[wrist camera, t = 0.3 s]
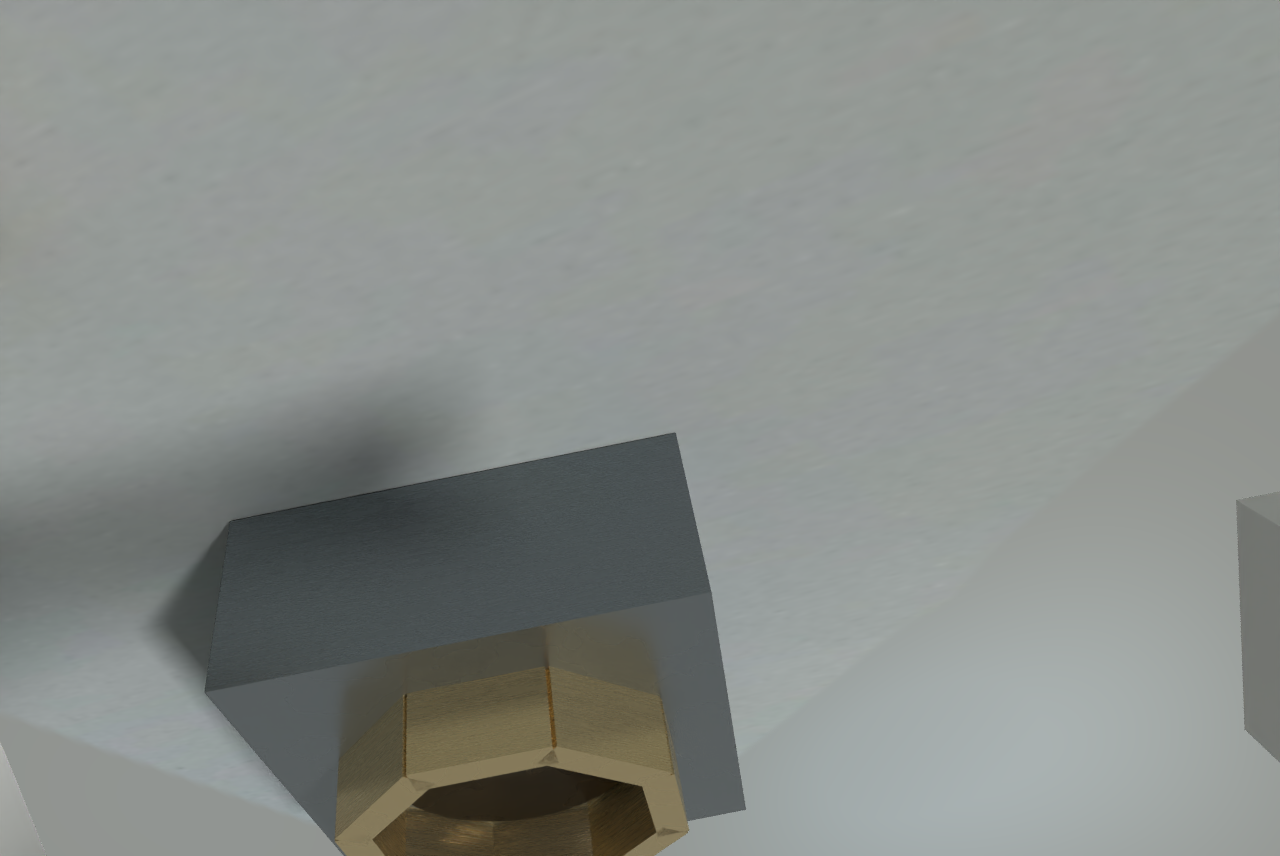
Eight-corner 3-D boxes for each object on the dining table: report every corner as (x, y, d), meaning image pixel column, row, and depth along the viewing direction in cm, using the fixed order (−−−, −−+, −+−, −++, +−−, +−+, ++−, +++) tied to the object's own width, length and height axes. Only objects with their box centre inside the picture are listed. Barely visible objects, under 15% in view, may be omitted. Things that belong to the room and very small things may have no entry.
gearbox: (230, 521, 34) (192, 778, 28) (675, 432, 34) (729, 671, 28) (394, 768, 46) (391, 982, 41) (721, 703, 46) (765, 908, 41)
